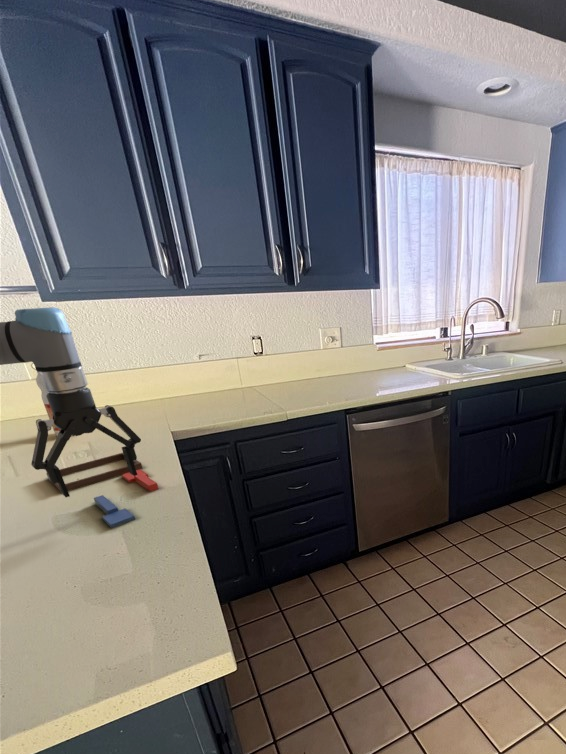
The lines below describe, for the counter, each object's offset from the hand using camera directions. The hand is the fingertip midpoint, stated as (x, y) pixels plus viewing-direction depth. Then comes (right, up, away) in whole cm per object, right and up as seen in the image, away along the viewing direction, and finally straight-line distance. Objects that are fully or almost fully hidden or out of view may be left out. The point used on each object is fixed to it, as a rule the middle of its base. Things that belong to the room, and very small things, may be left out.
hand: (101, 484), depth 95 cm
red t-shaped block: (0, 0, +17) cm, 17 cm away
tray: (-17, +2, +24) cm, 29 cm away
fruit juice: (-51, +18, +61) cm, 82 cm away
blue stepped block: (+1, -7, +2) cm, 8 cm away
